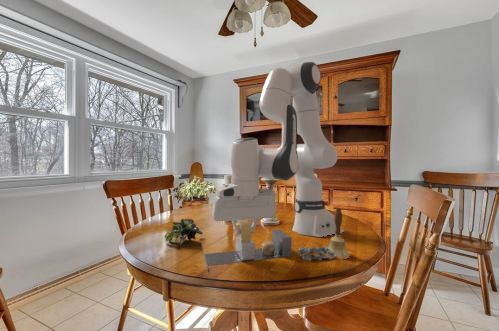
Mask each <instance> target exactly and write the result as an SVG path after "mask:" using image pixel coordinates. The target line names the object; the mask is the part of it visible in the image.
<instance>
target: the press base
mask: <svg viewBox="0 0 499 331" xmlns="http://www.w3.org/2000/svg"><path fill="white" fill-rule="evenodd" d="M292 239H293V238H292V236H290V235H289V234H288V233H286V232H285V231H284V230H282V229H272V230H271V242H273V243H274V244H275V253H274V254H273V255H264V254H262V247H261V248H255V259H251V260H241V259H240V257H239V255H238V254H237V252H236V250H231V251H221V252H211V253H204V256H203V257H204V263H205V265H206V269H207V272H210V269H209V267H210V266H211V267H212V266H220V265H229V264H236V263H237V264H238V263H244V262H245V263H246V262H252V261H263V260H272V259H273V260H274V259H279V258H281V259H283V258H290V257H291V258H292V243H293V242H292Z"/></svg>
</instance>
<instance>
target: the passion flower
mask: <svg viewBox="0 0 499 331" xmlns="http://www.w3.org/2000/svg"><path fill="white" fill-rule="evenodd" d="M172 224H173V225H172V228H171V231H170V232H169V231H167V232H166V233H165V235H164V238H165V241H166V242H168V243H171V241H172V240H173V239H174V243H175V244H177V240H178V238H179V241H180V244H179V248H180V247H181V246H182V244H183V242H184V241H185V240H186V239H188V241H191V240H192V239H193V240H196V239H197V238H196V235H197V234H198V235H203V234H204V232H203V231H201V230H200V228H199V226H197V225H198V224H197V223H195V220H194V219H192V218H190V217H187V218H185V217H184V218H181V220H178V221H172Z"/></svg>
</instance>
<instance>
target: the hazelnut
mask: <svg viewBox="0 0 499 331" xmlns="http://www.w3.org/2000/svg"><path fill="white" fill-rule="evenodd" d="M261 248H262V254H264V255H273V254H274V253H275V244H274V243H273V242H272V241H264V242H262V244H261Z"/></svg>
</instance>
